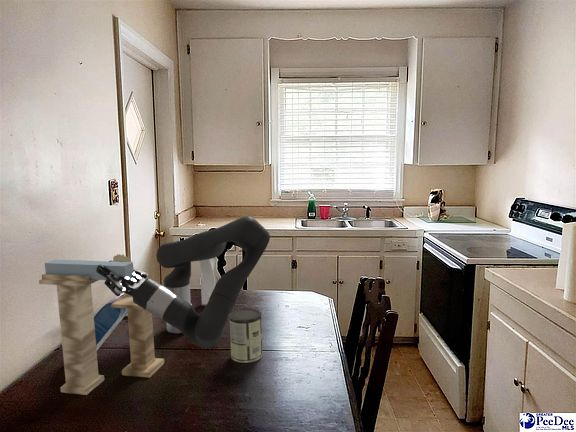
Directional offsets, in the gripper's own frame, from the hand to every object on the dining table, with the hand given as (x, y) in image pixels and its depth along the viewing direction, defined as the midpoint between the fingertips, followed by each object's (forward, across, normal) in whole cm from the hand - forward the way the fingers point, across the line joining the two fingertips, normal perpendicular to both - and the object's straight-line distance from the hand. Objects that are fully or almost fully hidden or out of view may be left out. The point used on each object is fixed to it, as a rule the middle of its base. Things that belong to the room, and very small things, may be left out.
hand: (103, 265), depth 117 cm
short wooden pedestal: (-20, -12, +30) cm, 38 cm away
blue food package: (+1, -13, +39) cm, 41 cm away
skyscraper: (-18, -72, +31) cm, 80 cm away
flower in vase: (+8, -54, +46) cm, 71 cm away
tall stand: (-9, 0, +36) cm, 37 cm away
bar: (+2, 0, +5) cm, 6 cm away
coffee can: (-45, -26, +16) cm, 54 cm away
